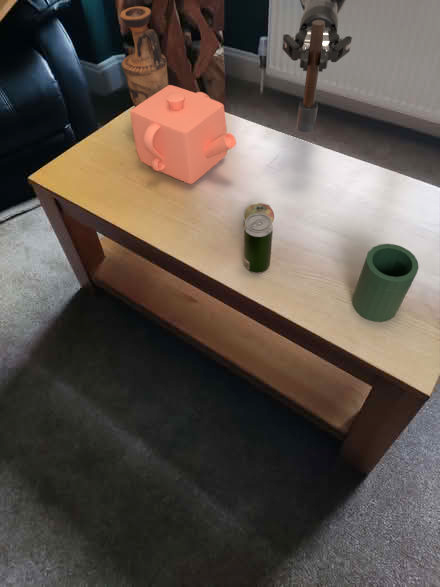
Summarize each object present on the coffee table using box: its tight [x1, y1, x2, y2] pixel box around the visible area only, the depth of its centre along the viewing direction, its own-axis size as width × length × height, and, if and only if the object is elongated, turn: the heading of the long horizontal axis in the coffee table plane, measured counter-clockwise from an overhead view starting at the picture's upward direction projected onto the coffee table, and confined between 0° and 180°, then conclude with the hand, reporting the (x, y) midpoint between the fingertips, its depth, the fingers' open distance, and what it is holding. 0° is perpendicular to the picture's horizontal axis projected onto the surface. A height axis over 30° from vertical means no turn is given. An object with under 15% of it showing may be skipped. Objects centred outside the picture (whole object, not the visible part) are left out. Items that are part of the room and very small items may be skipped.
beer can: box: [243, 213, 274, 275], centre depth 84 cm, size 5×5×12 cm
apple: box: [243, 202, 275, 224], centre depth 93 cm, size 6×8×6 cm
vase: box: [119, 5, 169, 108], centre depth 107 cm, size 11×11×30 cm
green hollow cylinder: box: [351, 243, 419, 323], centre depth 77 cm, size 8×8×12 cm
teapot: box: [129, 84, 237, 185], centre depth 102 cm, size 25×23×18 cm
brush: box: [296, 20, 325, 133], centre depth 83 cm, size 4×4×20 cm
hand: (313, 65), depth 78 cm, fingers closed on brush, 2 cm apart
